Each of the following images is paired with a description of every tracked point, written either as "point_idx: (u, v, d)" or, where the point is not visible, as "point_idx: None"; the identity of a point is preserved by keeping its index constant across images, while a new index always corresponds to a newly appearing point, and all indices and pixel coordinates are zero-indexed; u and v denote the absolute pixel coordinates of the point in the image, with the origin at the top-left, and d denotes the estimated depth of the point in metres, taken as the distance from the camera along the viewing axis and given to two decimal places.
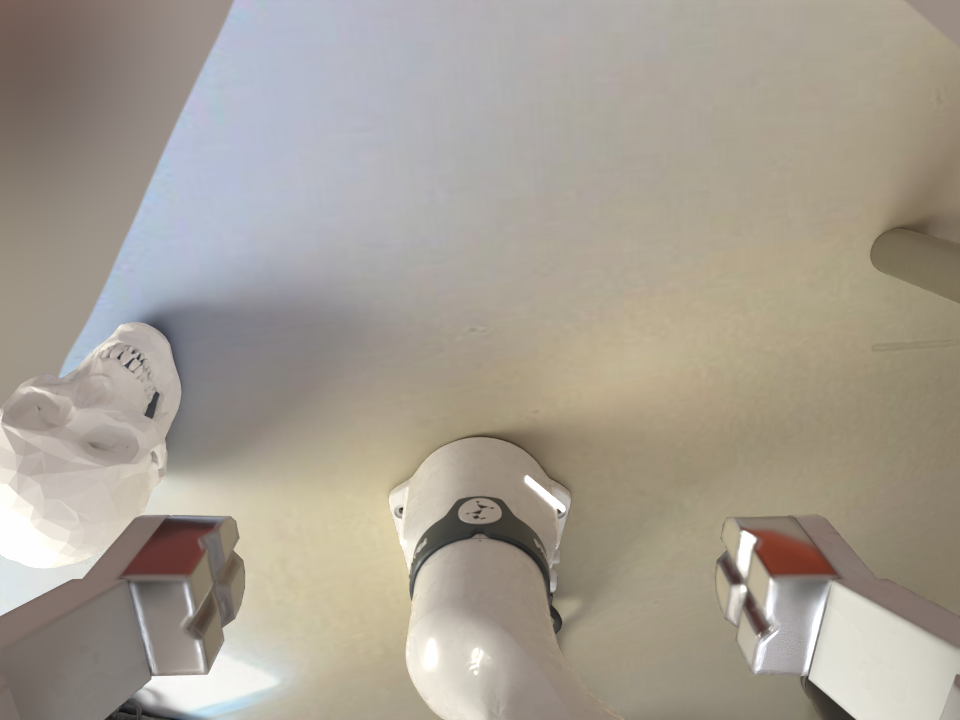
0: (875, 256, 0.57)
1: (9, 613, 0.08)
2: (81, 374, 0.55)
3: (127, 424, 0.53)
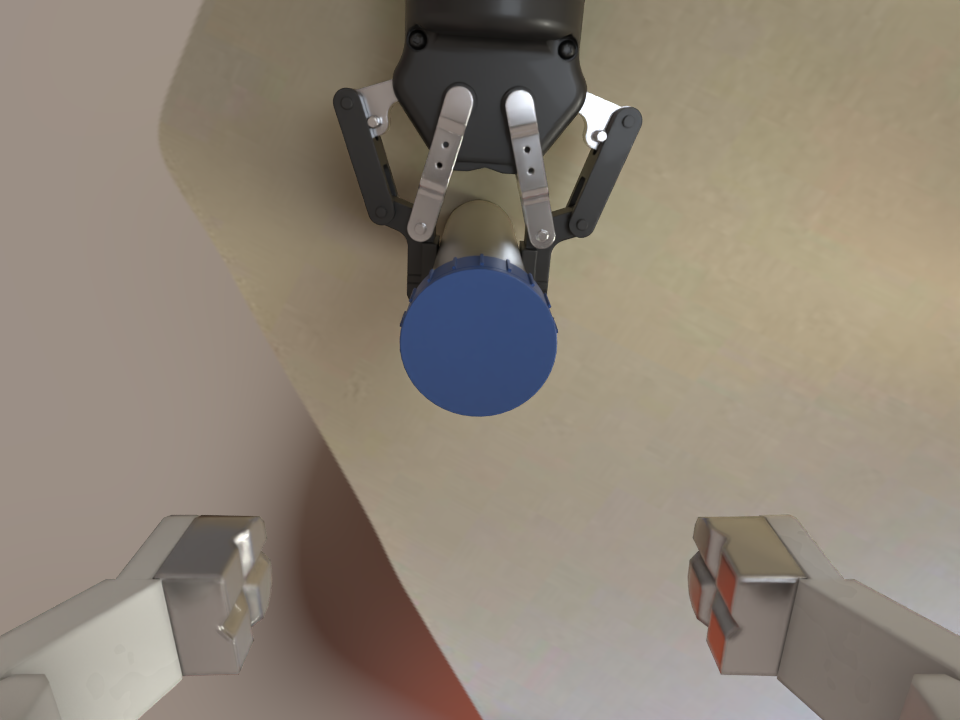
0: None
1: (45, 613, 0.08)
2: None
3: None
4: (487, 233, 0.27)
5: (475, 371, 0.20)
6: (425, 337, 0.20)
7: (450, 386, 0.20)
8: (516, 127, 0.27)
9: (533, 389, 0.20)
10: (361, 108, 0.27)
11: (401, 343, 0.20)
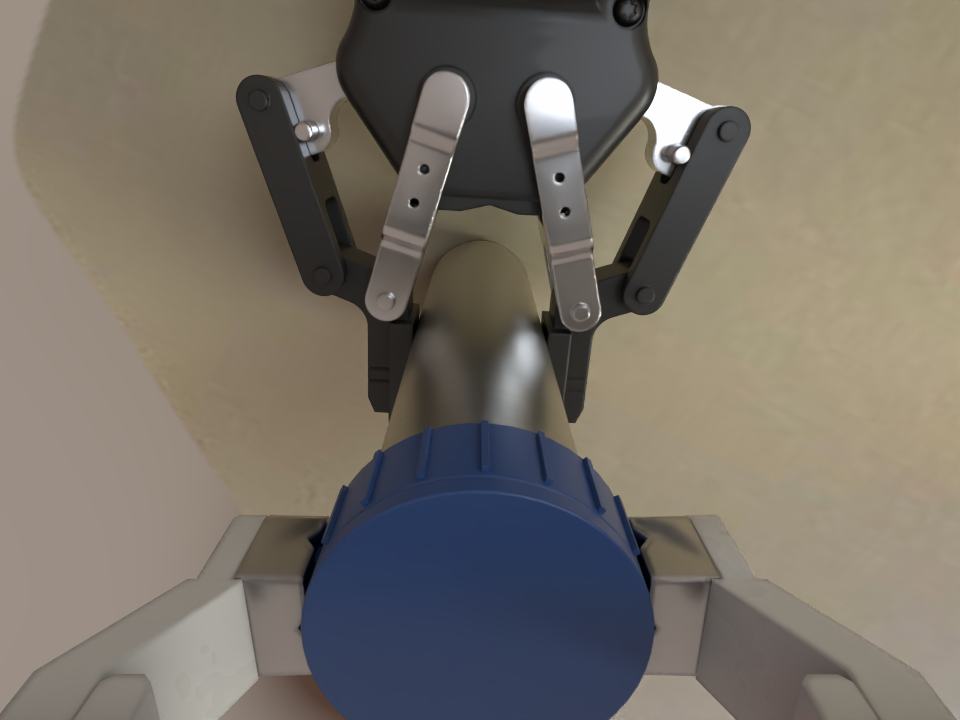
0: None
1: (134, 613, 0.08)
2: None
3: None
4: (493, 320, 0.16)
5: (471, 687, 0.09)
6: (357, 626, 0.09)
7: (417, 713, 0.09)
8: (542, 141, 0.16)
9: (597, 718, 0.09)
10: (283, 109, 0.17)
11: (304, 637, 0.09)
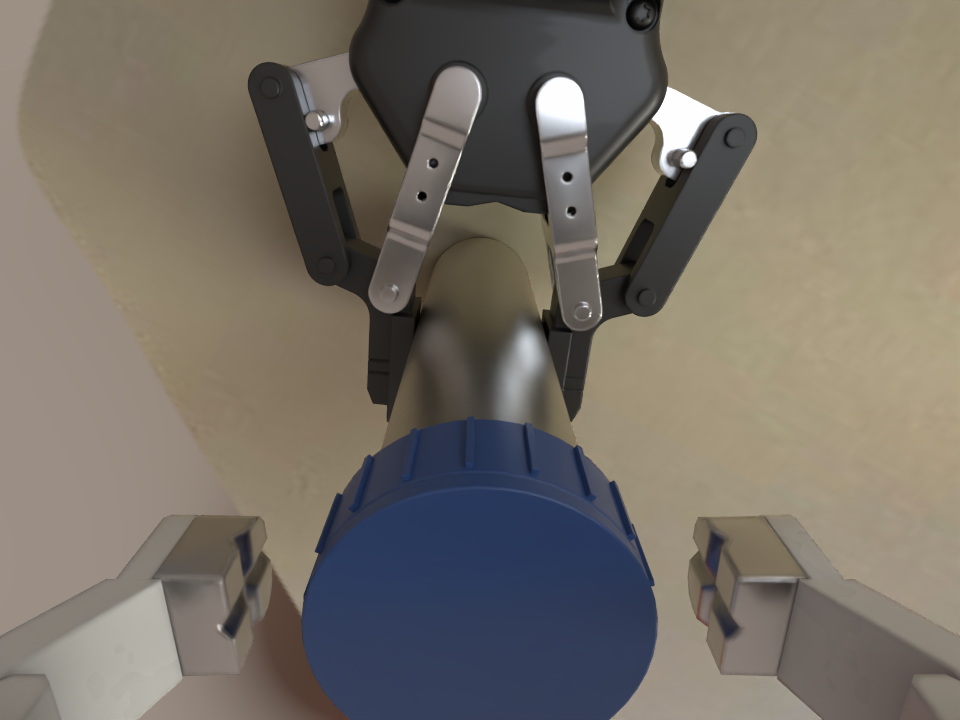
0: None
1: (46, 613, 0.08)
2: None
3: None
4: (497, 315, 0.16)
5: (531, 663, 0.09)
6: (414, 712, 0.09)
7: (539, 712, 0.09)
8: (552, 140, 0.16)
9: (636, 580, 0.08)
10: (295, 97, 0.17)
11: None
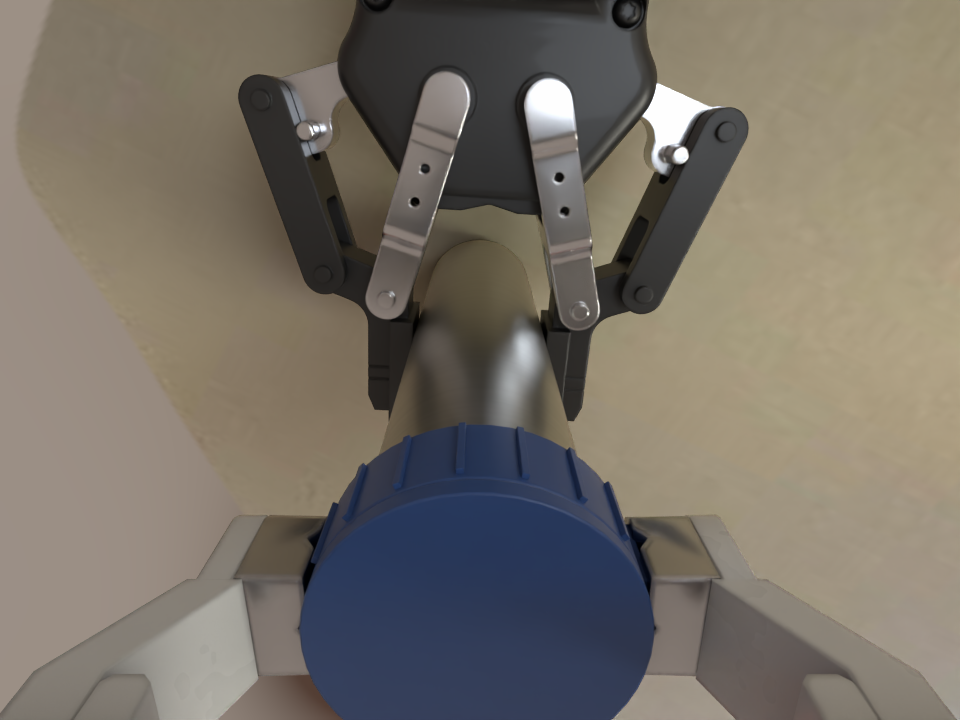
0: None
1: (134, 613, 0.08)
2: None
3: None
4: (493, 318, 0.16)
5: (530, 667, 0.09)
6: (415, 718, 0.09)
7: (540, 715, 0.09)
8: (542, 141, 0.16)
9: (631, 581, 0.08)
10: (285, 108, 0.17)
11: None
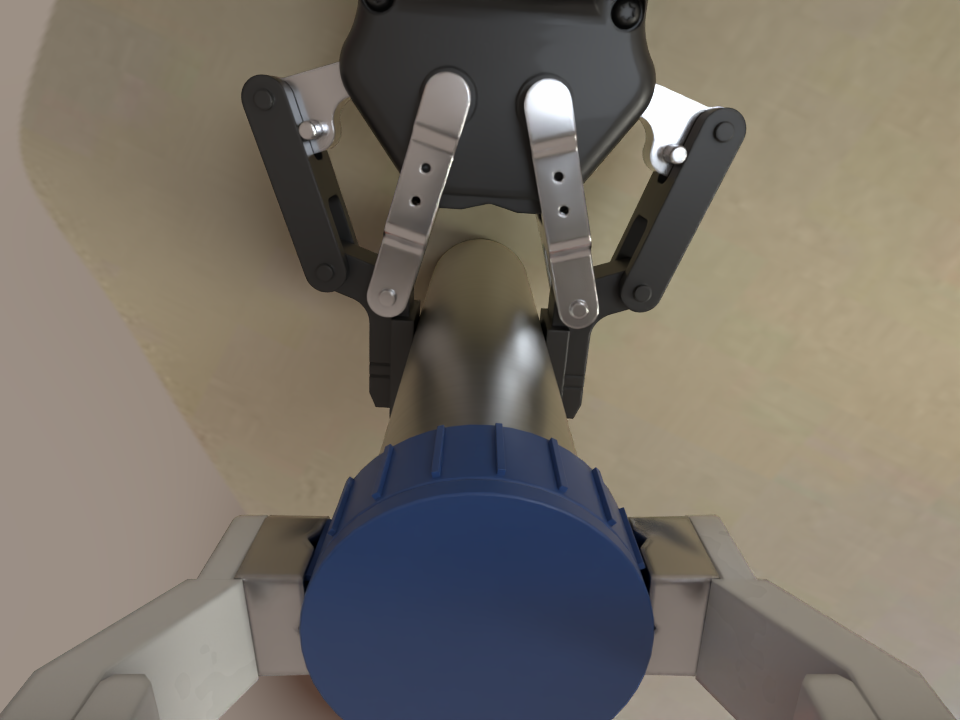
0: None
1: (134, 613, 0.08)
2: None
3: None
4: (493, 316, 0.16)
5: (526, 614, 0.09)
6: (542, 716, 0.09)
7: (593, 625, 0.09)
8: (542, 141, 0.16)
9: (461, 502, 0.08)
10: (288, 108, 0.17)
11: None
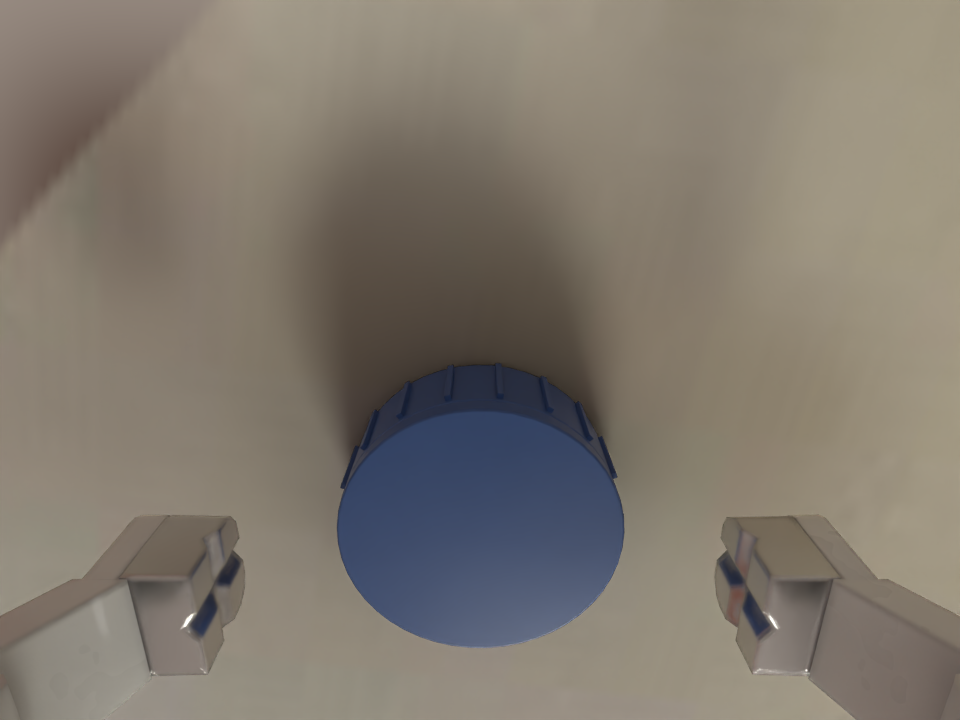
0: None
1: (9, 613, 0.08)
2: None
3: None
4: None
5: (520, 512, 0.11)
6: (534, 602, 0.11)
7: (575, 522, 0.11)
8: None
9: (468, 417, 0.10)
10: None
11: (570, 619, 0.12)
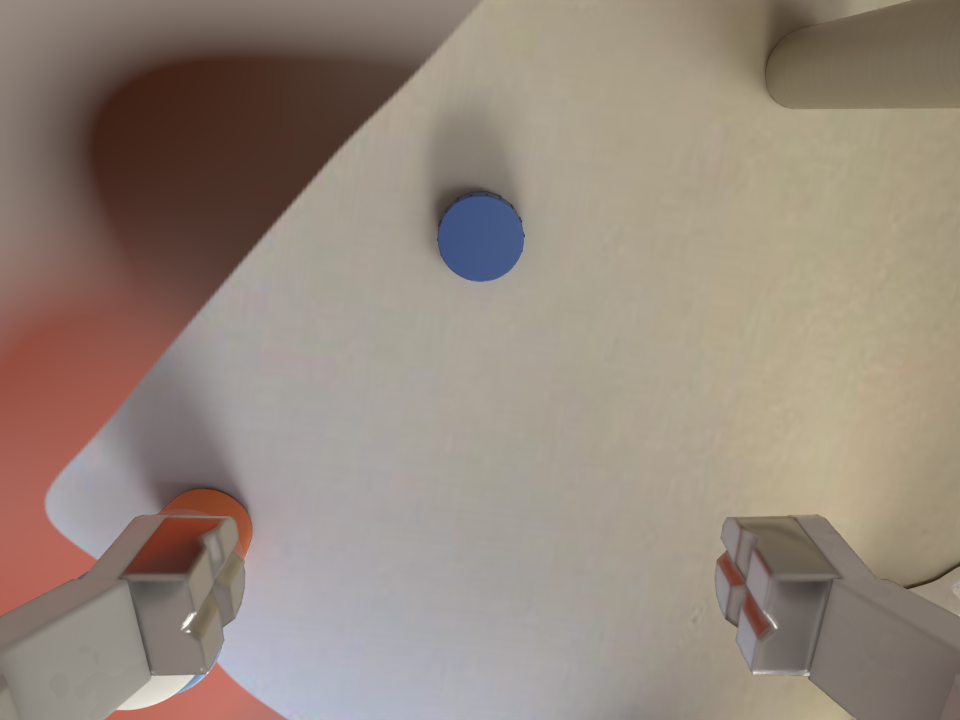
0: (800, 108, 0.35)
1: (9, 613, 0.08)
2: None
3: None
4: None
5: (492, 230, 0.36)
6: (497, 263, 0.37)
7: (508, 233, 0.36)
8: None
9: (477, 198, 0.36)
10: None
11: (508, 270, 0.37)
